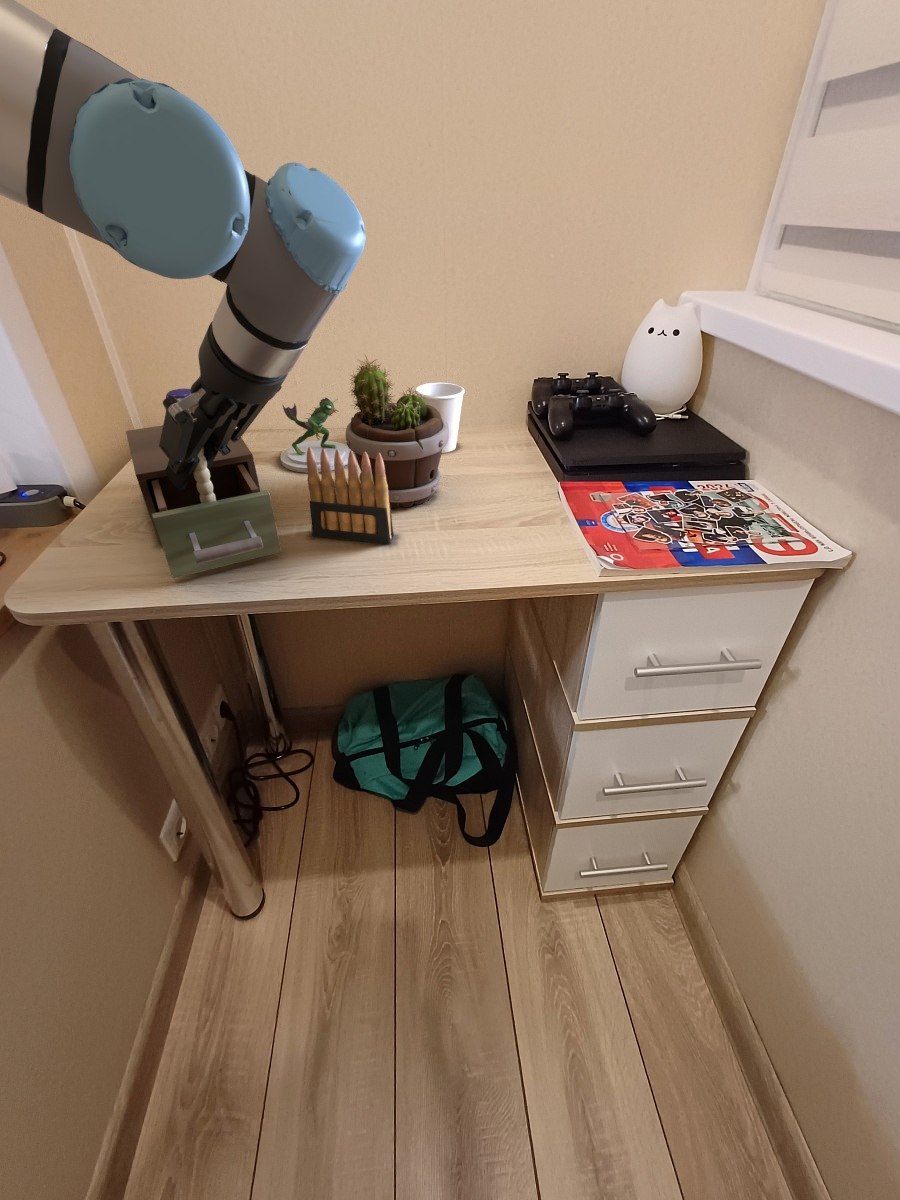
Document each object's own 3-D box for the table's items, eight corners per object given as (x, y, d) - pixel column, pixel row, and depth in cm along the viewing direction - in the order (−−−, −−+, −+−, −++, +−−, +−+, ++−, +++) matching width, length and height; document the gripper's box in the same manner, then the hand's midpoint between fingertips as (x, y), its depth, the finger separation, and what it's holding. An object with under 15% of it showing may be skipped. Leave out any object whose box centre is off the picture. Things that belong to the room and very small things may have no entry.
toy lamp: (222, 515, 73) (183, 382, 63) (247, 525, 71) (211, 389, 61) (190, 531, 70) (144, 394, 60) (215, 542, 68) (172, 402, 58)
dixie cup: (443, 459, 97) (443, 400, 91) (406, 447, 101) (404, 390, 95) (472, 445, 102) (474, 388, 96) (437, 434, 106) (436, 379, 101)
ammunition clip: (394, 537, 76) (388, 450, 69) (390, 544, 74) (384, 456, 67) (317, 529, 77) (304, 443, 70) (312, 536, 76) (298, 449, 69)
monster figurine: (345, 473, 92) (338, 409, 86) (272, 472, 93) (260, 408, 87) (358, 445, 102) (352, 387, 96) (291, 444, 102) (282, 385, 96)
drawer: (294, 575, 67) (283, 515, 62) (180, 605, 62) (158, 542, 57) (252, 501, 82) (241, 448, 77) (158, 521, 77) (139, 466, 72)
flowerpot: (455, 475, 92) (456, 342, 80) (439, 520, 79) (438, 371, 68) (367, 470, 93) (356, 338, 82) (339, 513, 81) (320, 365, 69)
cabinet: (266, 521, 79) (252, 453, 73) (159, 545, 74) (135, 474, 68) (240, 476, 91) (226, 415, 85) (147, 494, 86) (125, 430, 80)
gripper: (285, 298, 56) (212, 432, 73) (153, 324, 46) (104, 472, 63) (332, 362, 57) (250, 480, 74) (213, 401, 47) (149, 527, 64)
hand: (183, 476), depth 69 cm, fingers closed on toy lamp, 2 cm apart
